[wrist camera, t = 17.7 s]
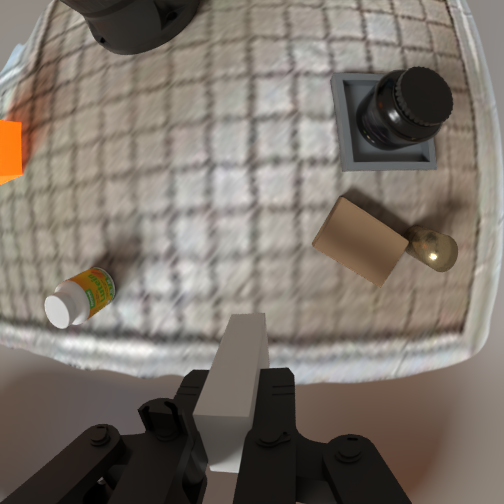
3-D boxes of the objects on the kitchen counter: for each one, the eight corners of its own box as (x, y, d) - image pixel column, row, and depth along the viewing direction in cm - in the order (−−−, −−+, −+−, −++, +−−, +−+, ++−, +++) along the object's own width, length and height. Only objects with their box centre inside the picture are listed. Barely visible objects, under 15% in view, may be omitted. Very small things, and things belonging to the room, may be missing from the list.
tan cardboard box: (338, 196, 32) (342, 197, 30) (401, 237, 32) (409, 241, 30) (311, 242, 33) (313, 247, 31) (374, 281, 34) (380, 287, 31)
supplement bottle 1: (123, 293, 37) (82, 323, 27) (99, 310, 38) (59, 341, 28) (101, 258, 36) (55, 280, 27) (78, 278, 37) (34, 301, 28)
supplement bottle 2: (380, 82, 28) (422, 40, 16) (420, 128, 28) (477, 107, 17) (341, 117, 29) (370, 82, 18) (383, 164, 30) (432, 155, 18)
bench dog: (402, 226, 31) (429, 236, 25) (428, 224, 31) (458, 234, 24) (402, 257, 32) (427, 273, 25) (428, 254, 32) (456, 270, 25)
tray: (330, 80, 29) (333, 72, 26) (414, 84, 28) (423, 78, 25) (342, 171, 31) (346, 170, 29) (427, 170, 30) (436, 169, 27)
